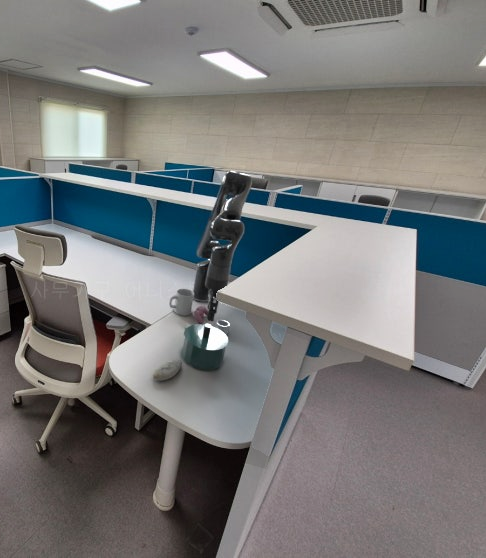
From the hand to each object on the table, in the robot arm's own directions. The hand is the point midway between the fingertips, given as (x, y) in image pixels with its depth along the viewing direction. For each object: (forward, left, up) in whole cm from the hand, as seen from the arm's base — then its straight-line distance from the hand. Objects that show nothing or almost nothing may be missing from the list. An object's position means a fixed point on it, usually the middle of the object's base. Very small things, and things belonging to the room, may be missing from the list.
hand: (210, 314), depth 113 cm
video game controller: (-30, -1, -20) cm, 36 cm away
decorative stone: (+14, -12, -20) cm, 27 cm away
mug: (-33, -12, -20) cm, 40 cm away
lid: (0, 0, -10) cm, 10 cm away
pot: (0, 0, -20) cm, 20 cm away
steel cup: (-21, +8, -20) cm, 30 cm away
